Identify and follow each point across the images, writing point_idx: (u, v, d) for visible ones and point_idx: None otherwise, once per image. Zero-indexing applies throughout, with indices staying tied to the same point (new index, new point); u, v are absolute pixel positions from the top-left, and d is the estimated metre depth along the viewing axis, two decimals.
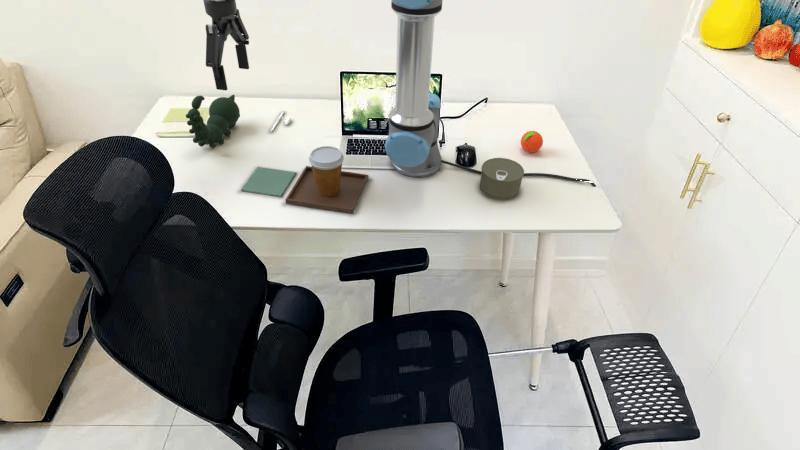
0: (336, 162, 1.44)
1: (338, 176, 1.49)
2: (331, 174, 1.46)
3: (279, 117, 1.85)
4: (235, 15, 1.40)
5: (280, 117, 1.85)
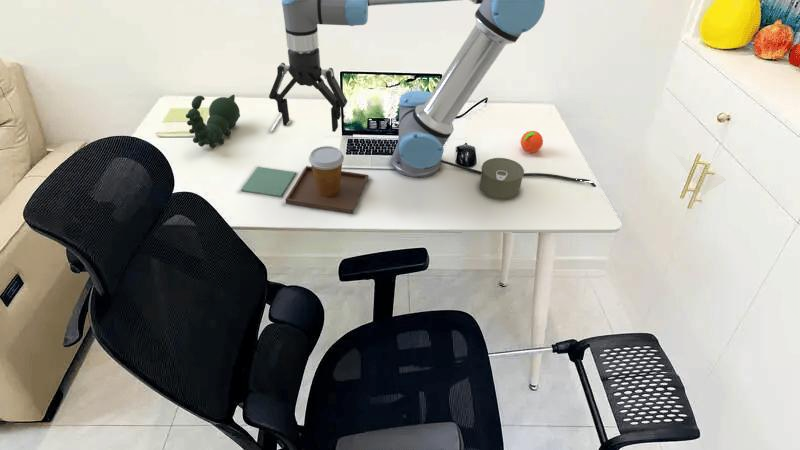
0: (336, 162, 1.44)
1: (338, 176, 1.49)
2: (331, 174, 1.46)
3: (279, 117, 1.85)
4: (325, 76, 1.32)
5: (280, 117, 1.85)
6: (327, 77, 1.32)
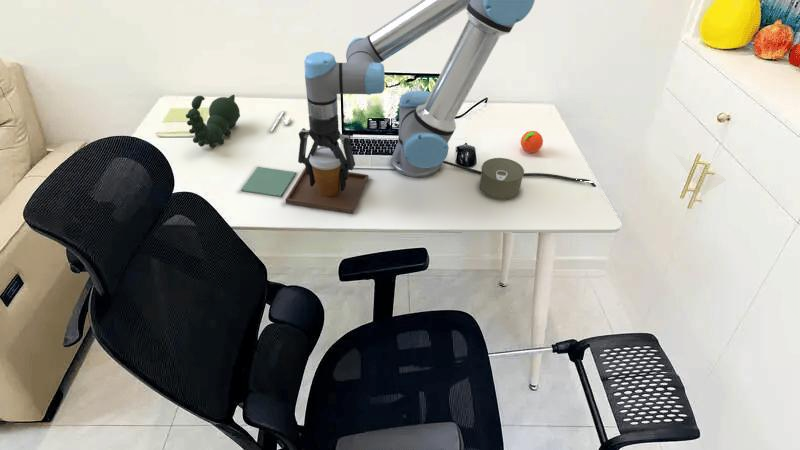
0: (336, 162, 1.44)
1: (338, 176, 1.49)
2: (331, 174, 1.46)
3: (279, 117, 1.85)
4: (343, 141, 1.42)
5: (280, 117, 1.85)
6: (344, 143, 1.42)
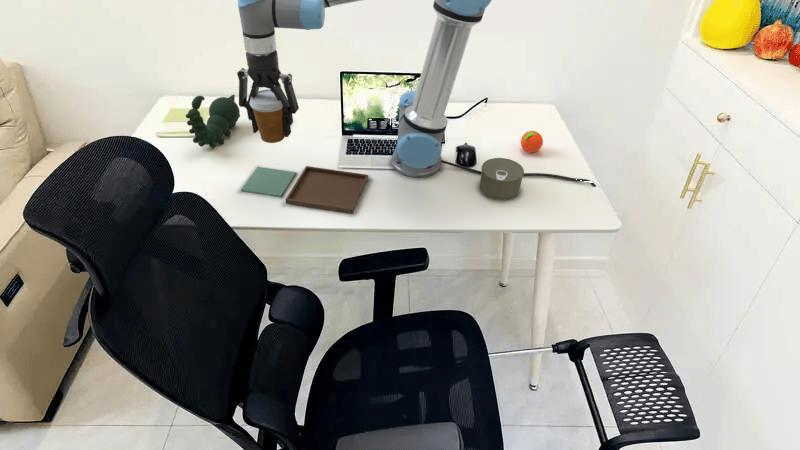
0: (277, 104, 1.37)
1: (281, 121, 1.41)
2: (272, 118, 1.39)
3: None
4: (283, 80, 1.34)
5: None
6: (285, 82, 1.34)
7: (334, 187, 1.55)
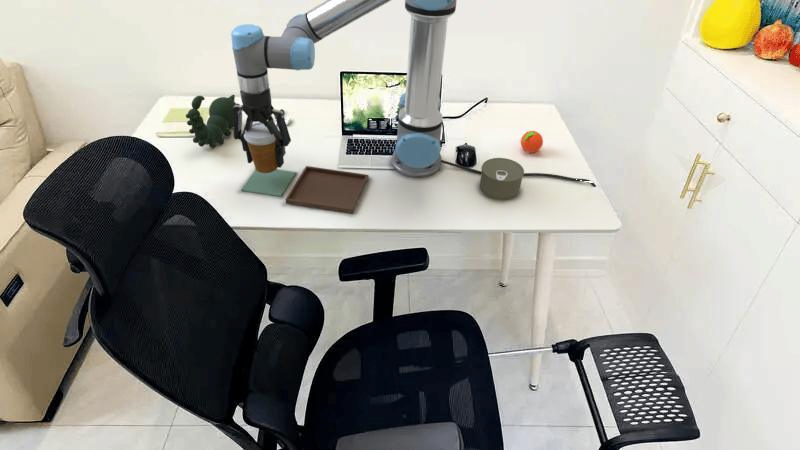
0: (270, 137, 1.44)
1: (274, 152, 1.48)
2: (266, 150, 1.46)
3: None
4: (276, 116, 1.41)
5: None
6: (277, 118, 1.41)
7: (334, 187, 1.55)
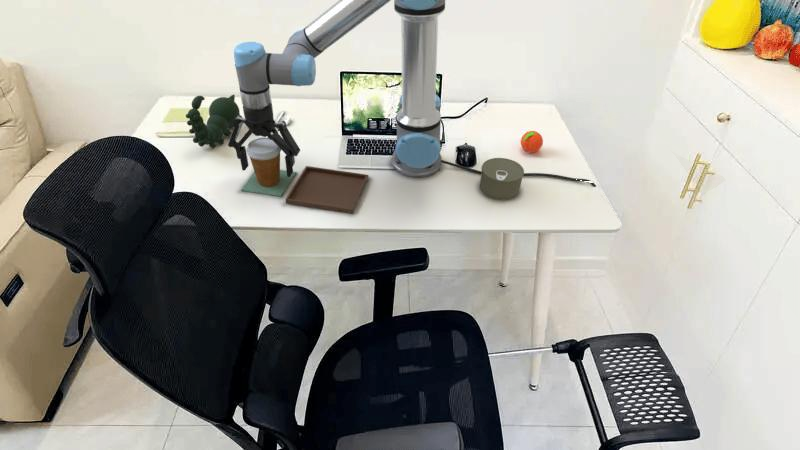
0: (272, 152, 1.47)
1: (276, 167, 1.51)
2: (268, 165, 1.49)
3: (279, 117, 1.85)
4: (278, 128, 1.43)
5: (280, 117, 1.85)
6: (280, 129, 1.43)
7: (334, 187, 1.55)
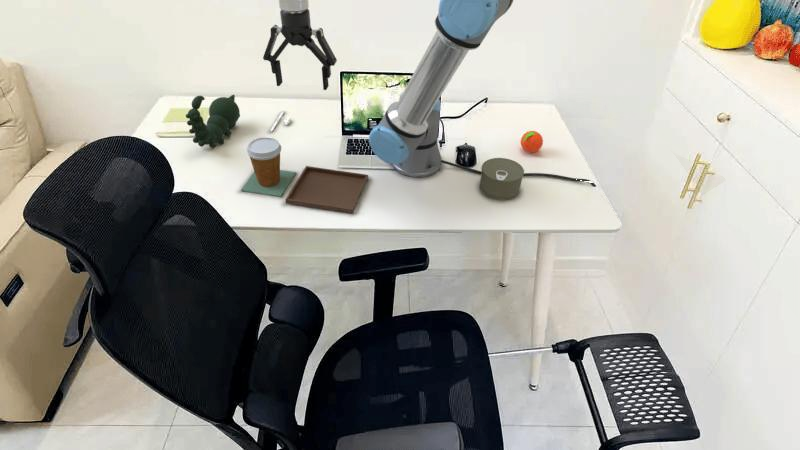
0: (272, 152, 1.47)
1: (276, 167, 1.51)
2: (268, 165, 1.49)
3: (279, 117, 1.85)
4: (316, 35, 1.42)
5: (280, 117, 1.85)
6: (317, 36, 1.42)
7: (334, 187, 1.55)
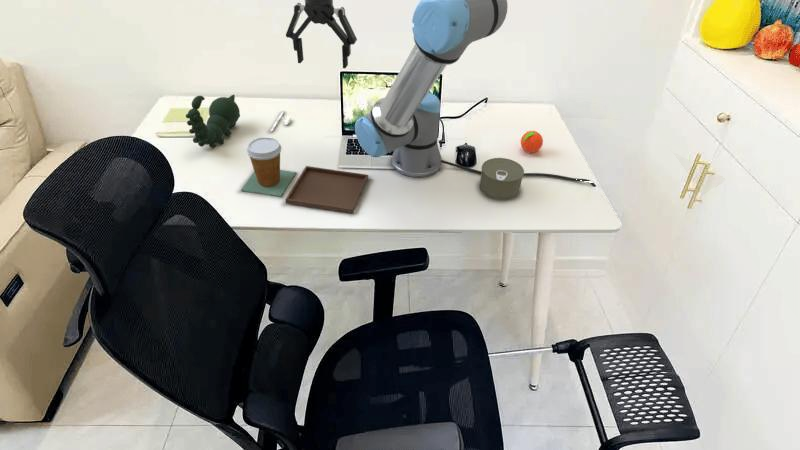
0: (272, 152, 1.47)
1: (276, 167, 1.51)
2: (268, 165, 1.49)
3: (279, 117, 1.85)
4: (337, 14, 1.46)
5: (280, 117, 1.86)
6: (339, 15, 1.46)
7: (334, 187, 1.55)
